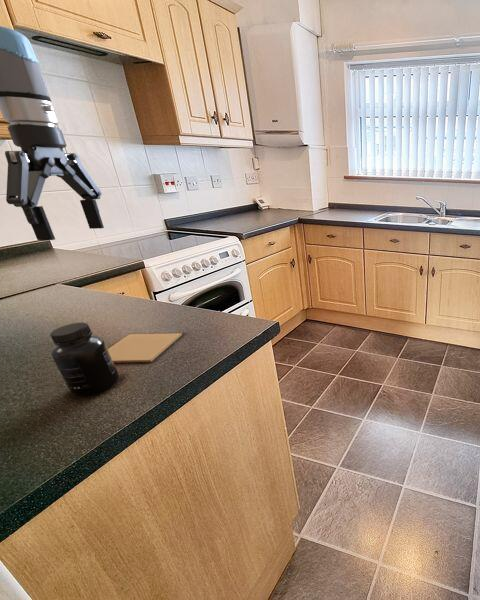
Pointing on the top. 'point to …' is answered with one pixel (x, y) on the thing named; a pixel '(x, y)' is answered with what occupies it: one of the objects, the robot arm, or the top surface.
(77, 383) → the supplement bottle
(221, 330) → the top surface
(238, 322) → the top surface
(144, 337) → the cork mat
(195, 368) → the top surface
